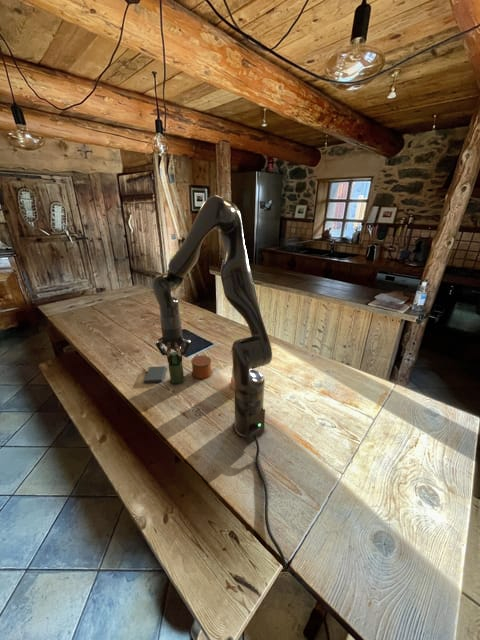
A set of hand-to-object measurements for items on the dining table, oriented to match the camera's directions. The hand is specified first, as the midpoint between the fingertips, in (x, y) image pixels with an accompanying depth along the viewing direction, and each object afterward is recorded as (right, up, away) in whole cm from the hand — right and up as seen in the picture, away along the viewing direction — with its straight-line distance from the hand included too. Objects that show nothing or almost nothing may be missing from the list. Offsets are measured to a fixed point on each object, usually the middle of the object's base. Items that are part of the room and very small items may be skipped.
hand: (175, 362), depth 109 cm
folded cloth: (-10, -7, +7) cm, 14 cm away
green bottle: (0, -7, +3) cm, 8 cm away
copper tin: (+10, -6, +8) cm, 14 cm away
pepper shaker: (+26, -10, +1) cm, 28 cm away
